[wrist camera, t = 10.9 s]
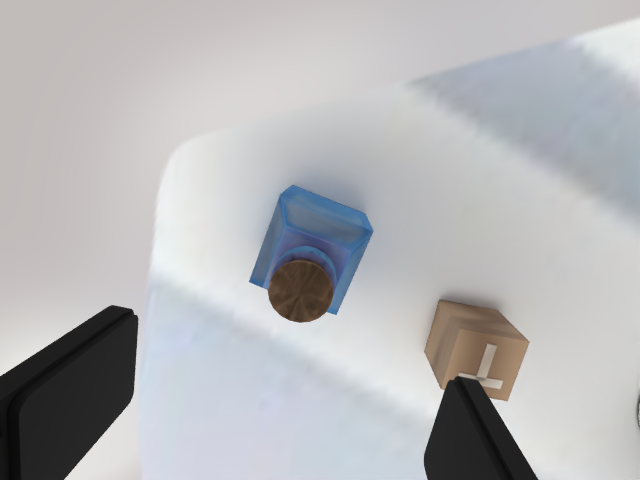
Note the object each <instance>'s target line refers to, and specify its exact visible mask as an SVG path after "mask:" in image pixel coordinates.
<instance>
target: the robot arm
mask: <svg viewBox="0 0 640 480" xmlns="http://www.w3.org/2000/svg"><path fill="white" fill-rule="evenodd" d="M137 333H138V317H137V315H134V312H133V310H132V309H129V308H124V307H119V306H114V305H112V306H109V307H107V308H106V309H104V310H103V311H101V312H99V313H98V314H96V315H95V316H93V317H92V318H90V319H88V320H87V321H85V322H84V323H82V324H81V325H79V326H78V327H76V328H75V329H73V330H72V331H70V332H68V333H67V334H65V335H64V336H62V337H61V338H59V339H58V340H56V341H54V342H53V343H51V344H50V345H48V346H47V347H45V348H44V349H42V350H41V351H39V352H37V353H36V354H34V355H33V356H31V357H30V358H28V359H27V360H25V361H23V362H22V363H20V364H19V365H17V366H16V367H14V368H13V369H11V370H10V371H8V372H6V373H5V374H3V375H2V376H0V480H64V479H65V478H66V477H67V476H68V474H69V473H70V472H71V471H72V470H73V469H74V467H75V466H76V465H77V464H78V463H79V461H80V460H81V459H82V458H83V457H84V456H85V455H86V453H87V452H88V451H89V450H90V449H91V448H92V446H93V445H94V444H95V443H96V442H97V441H98V439H99V438H100V437H101V436H102V435H103V434H104V432H105V431H106V430H107V429H108V428H109V427H110V425H111V424H112V423H113V422H114V421H115V420H116V418H117V417H118V416H119V415H120V414H121V413H122V412H123V410H124V409H125V408H126V407H127V406H128V404H129V403H130V401H131V399H132V397H133V393H134V380H135V365H136V349H137ZM639 423H640V405H639ZM424 467H425V471H426V475H427V479H428V480H538V478H537V477H536V475H535V474H534V472H533V470H532V469H531V467H530V465H529V464H528V462H527V460H526V459H525V457H524V455H523V454H522V452H521V450H520V449H519V447H518V445H517V444H516V442H515V440H514V439H513V437H512V435H511V434H510V432H509V430H508V429H507V427H506V425H505V424H504V422H503V420H502V419H501V417H500V415H499V414H498V412H497V410H496V409H495V407H494V405H493V404H492V402H491V400H490V399H489V397H488V395H487V394H486V392H485V390H484V389H483V387H482V385H481V384H480V382H479V381H478V380H476V379H471V378H466V377H461V376H456V377H455V378H454V380H449V381H448V383H447V385H446V388H445V391H444V394H443V398H442V401H441V404H440V407H439V410H438V413H437V416H436V419H435V422H434V425H433V429H432V432H431V435H430V438H429V441H428V444H427V447H426V450H425V454H424Z"/></svg>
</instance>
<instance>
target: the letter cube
mask: <svg viewBox="0 0 640 480" xmlns="http://www.w3.org/2000/svg"><path fill="white" fill-rule="evenodd" d="M528 344H529V341H528V340H527V339H526V338H525V337H524V336H523V335H522V334H521V333H520V332H519V331H518V330H517V329H516V328H515V327H514V326H513V325H512V324H511V323H510V322H509V321H508V320H507V319H506V318H505V317H504V316H503V315H502V314H501V313H500V312H499V311H497V310H492V309H486V308H481V307H475V306H470V305H465V304H459V303H454V302H448V301H443V300H439V303H438V306H437V310H436V313H435V317H434V320H433V324H432V327H431V331H430V334H429V338H428V341H427V345H426V348H425V351H424V352H425V354H426V356H427V359H428V361H429V363H430V365H431V368H432V370H433V372H434V374H435V377H436V379H437V381H438V383H439V386H440V388H441V389H444V390H445V388H446V385H447V383H448V381H449V380H454V378H455V377H456V376H461V377H466V378H471V379H476V380H478V381H479V382H480V384H481V385H482V387H483V389H484V390H485V392H486V394H487V395H488V397H489V398H493V399H499V400H504V401H508V398H509V396H510V393H511V390H512V387H513V385H514V382H515V379H516V377H517V374H518V371H519V369H520V366H521V363H522V361H523V358H524V355H525V353H526V350H527V347H528Z"/></svg>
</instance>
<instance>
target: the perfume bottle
mask: <svg viewBox="0 0 640 480" xmlns="http://www.w3.org/2000/svg"><path fill="white" fill-rule="evenodd" d="M372 233H373V229H372V227H371V225H370V223H369V221H368V219H367V216H366V214H364V213H362V212H359V211H357V210H354V209H352V208H349V207H347V206H344V205H342V204H339V203H337V202H334V201H332V200H329V199H327V198H324V197H321V196H319V195H316V194H314V193H311V192H309V191H306V190H304V189H301V188H299V187H296V186H294V185H292V186H291V187H289V188H288V189H287V190H286V191H284V192H283V193H282V194H280V197H279V200H278V203H277V205H276V208H275V211H274V214H273V217H272V219H271V222H270V225H269V228H268V231H267V233H266V236H265V239H264V242H263V244H262V247H261V250H260V253H259V256H258V258H257V261H256V264H255V267H254V270H253V272H252V275H251V278H250V281H249V282H250V283H253V284H255V285H257V286H260V287H262V288H265V289H267V290H268V295H269V300H270V302H271V304H272V306H273V308H274V309H275V310H276V311H277V312H278V313H279V314H280V315H281V316H282V317H284V318H286V319H288V320H290V321H294V322H299V323H300V322H310V321H313V320H315V319H318V318H320V317H321V316H322V315H323V314H325V313H326V312H329V313H332V314H335V315H336V314H337V312H338V310H339V308H340V305H341V303H342V301H343V299H344V296H345V294H346V292H347V289H348V287H349V285H350V283H351V280H352V278H353V276H354V274H355V271H356V269H357V267H358V265H359V262H360V260H361V258H362V256H363V253H364V251H365V249H366V246H367V244H368V242H369V240H370V237H371V235H372Z"/></svg>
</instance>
